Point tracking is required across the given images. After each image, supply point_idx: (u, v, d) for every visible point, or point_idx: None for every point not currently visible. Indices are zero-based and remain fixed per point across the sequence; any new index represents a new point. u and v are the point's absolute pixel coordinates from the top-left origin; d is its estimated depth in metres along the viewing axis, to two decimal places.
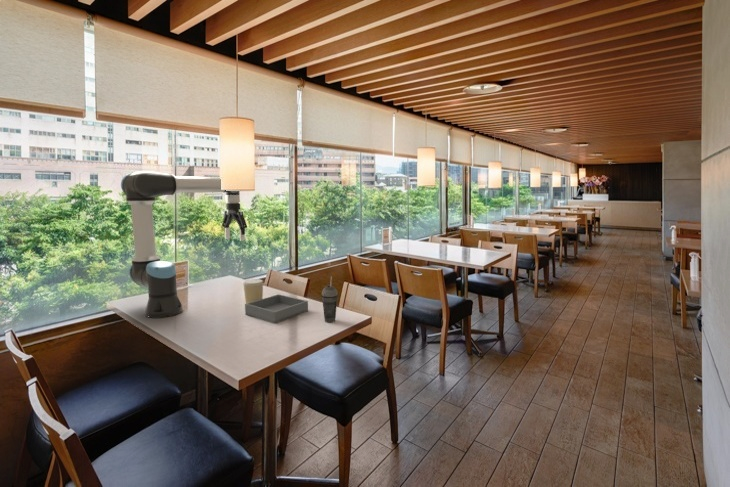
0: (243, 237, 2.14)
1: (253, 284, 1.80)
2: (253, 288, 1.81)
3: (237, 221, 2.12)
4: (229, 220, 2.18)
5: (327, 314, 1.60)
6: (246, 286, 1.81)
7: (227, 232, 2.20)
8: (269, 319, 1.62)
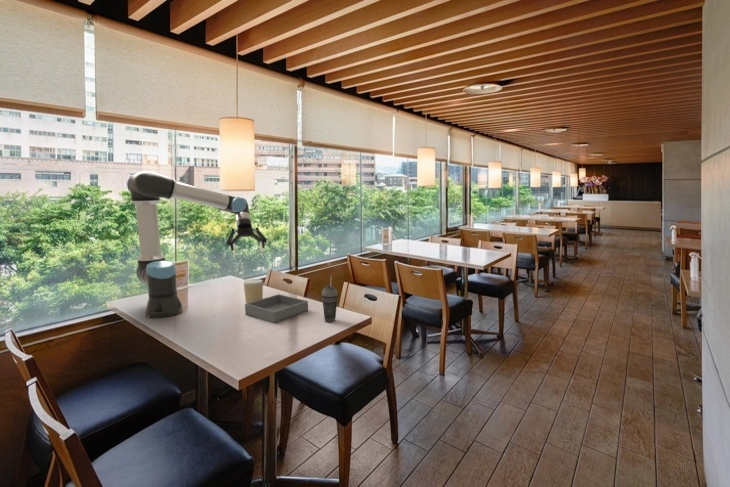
0: (262, 250, 1.97)
1: (253, 284, 1.80)
2: (253, 288, 1.81)
3: (255, 235, 2.00)
4: (238, 237, 1.97)
5: (327, 314, 1.60)
6: (246, 286, 1.81)
7: None
8: (269, 319, 1.62)
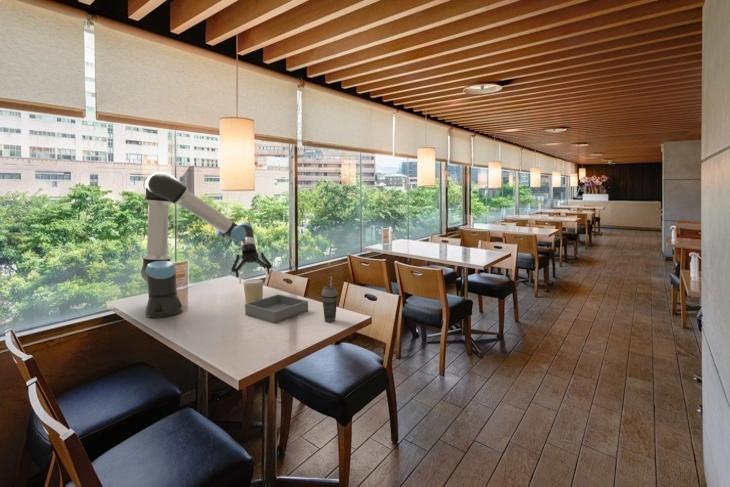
0: None
1: (253, 284, 1.80)
2: (253, 288, 1.81)
3: (260, 261, 1.98)
4: (243, 263, 1.95)
5: (327, 314, 1.60)
6: (246, 286, 1.81)
7: None
8: (269, 319, 1.62)
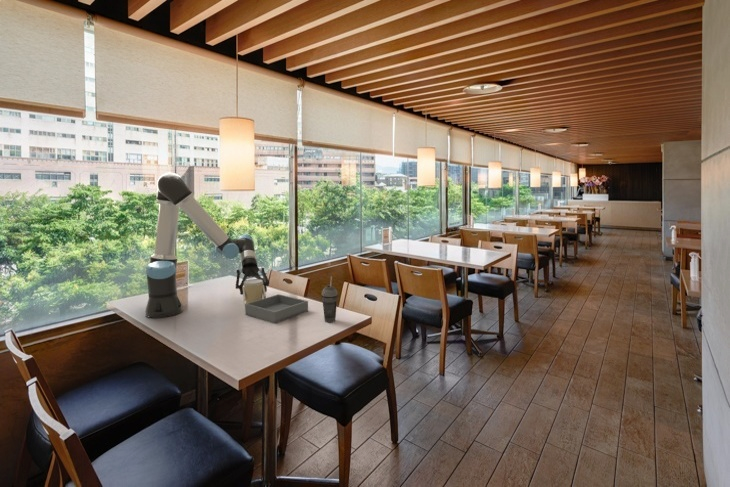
0: None
1: (253, 284, 1.80)
2: (253, 288, 1.81)
3: (259, 277, 1.90)
4: (246, 278, 1.88)
5: (327, 314, 1.60)
6: (246, 286, 1.81)
7: (244, 292, 1.83)
8: (269, 319, 1.62)
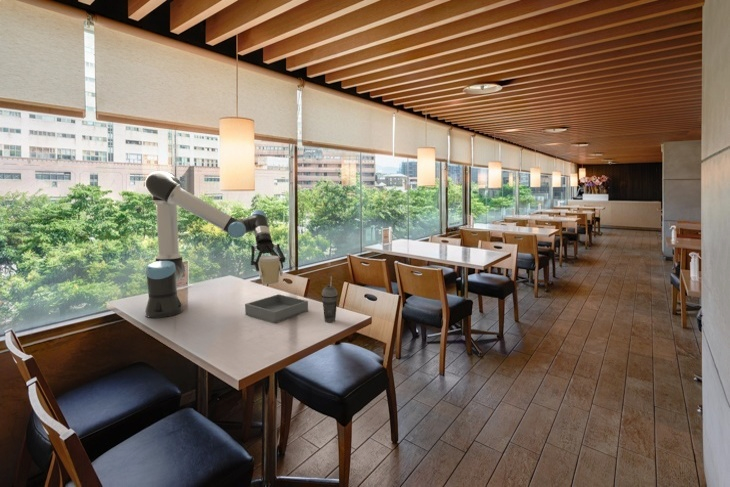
0: None
1: (270, 260, 1.72)
2: (269, 264, 1.73)
3: (275, 253, 1.81)
4: (261, 254, 1.79)
5: (327, 314, 1.60)
6: (262, 262, 1.73)
7: (260, 269, 1.75)
8: (269, 319, 1.62)
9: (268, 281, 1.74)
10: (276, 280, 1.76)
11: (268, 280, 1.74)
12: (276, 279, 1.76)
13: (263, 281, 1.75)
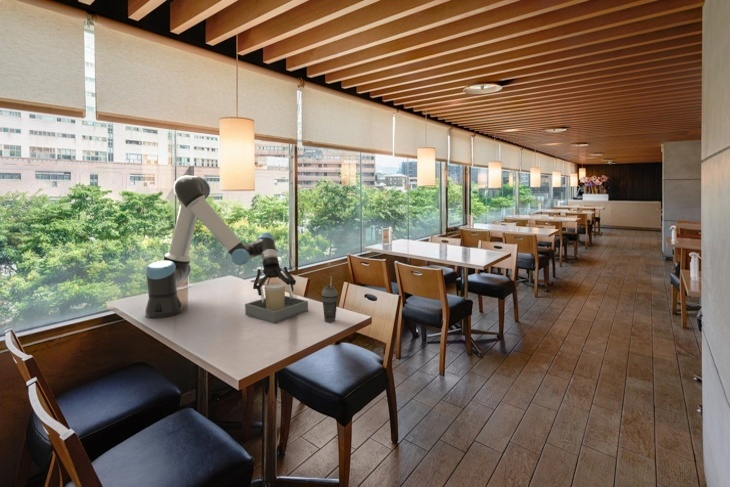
0: None
1: (275, 289, 1.68)
2: (275, 293, 1.68)
3: (283, 276, 1.77)
4: (266, 279, 1.75)
5: (327, 314, 1.60)
6: (268, 291, 1.68)
7: (262, 293, 1.70)
8: (269, 319, 1.62)
9: None
10: None
11: (273, 309, 1.69)
12: (281, 308, 1.71)
13: None
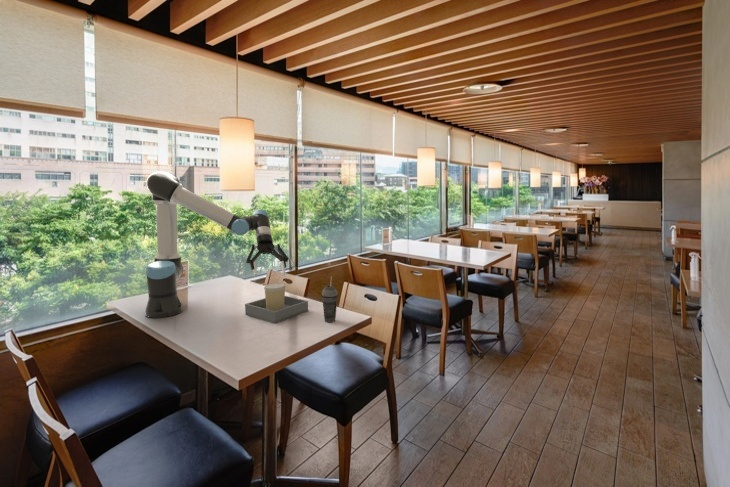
0: None
1: (275, 289, 1.68)
2: (274, 293, 1.68)
3: (277, 253, 1.86)
4: (259, 254, 1.82)
5: (327, 314, 1.60)
6: (267, 291, 1.68)
7: None
8: (269, 319, 1.62)
9: None
10: None
11: (273, 309, 1.69)
12: (281, 308, 1.71)
13: None
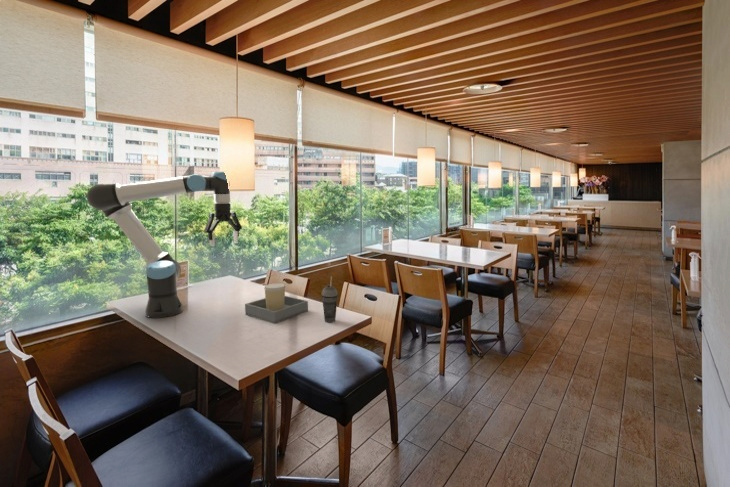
0: None
1: (275, 289, 1.68)
2: (274, 293, 1.68)
3: (233, 223, 1.93)
4: None
5: (327, 314, 1.60)
6: (267, 291, 1.68)
7: None
8: (269, 319, 1.62)
9: None
10: None
11: (273, 309, 1.69)
12: (281, 308, 1.71)
13: None
